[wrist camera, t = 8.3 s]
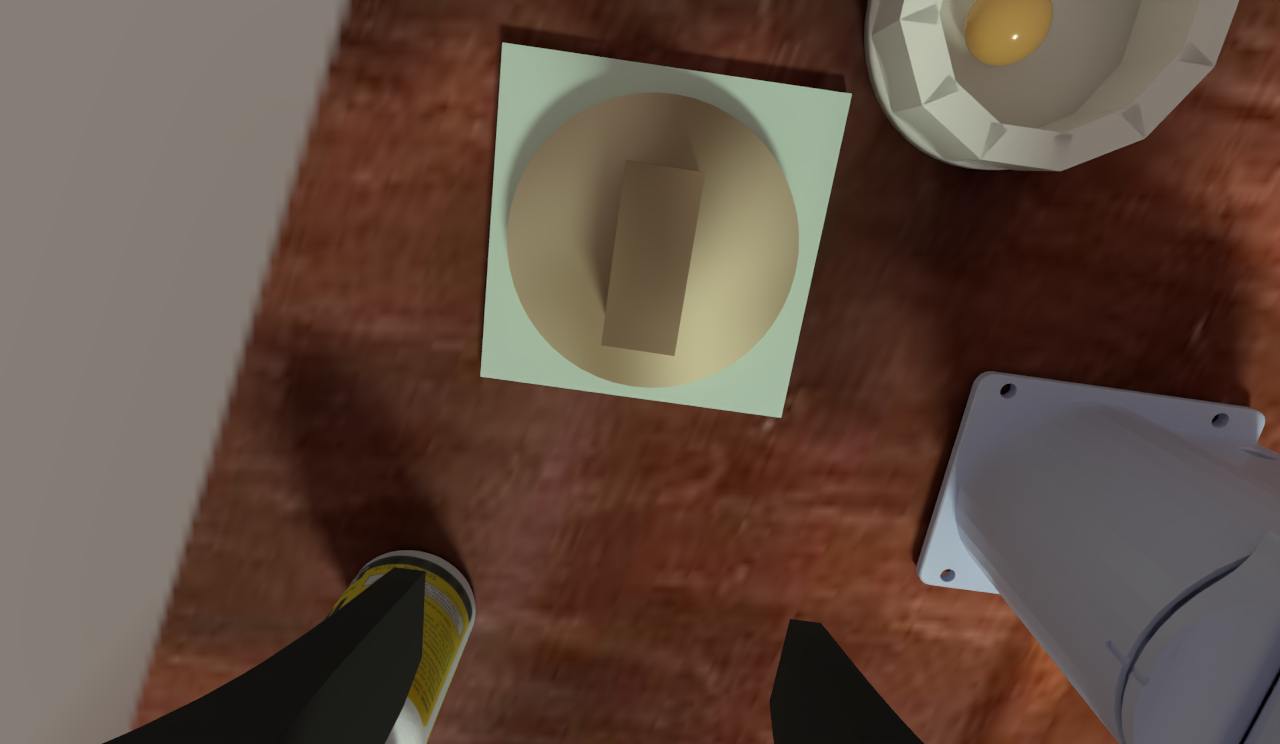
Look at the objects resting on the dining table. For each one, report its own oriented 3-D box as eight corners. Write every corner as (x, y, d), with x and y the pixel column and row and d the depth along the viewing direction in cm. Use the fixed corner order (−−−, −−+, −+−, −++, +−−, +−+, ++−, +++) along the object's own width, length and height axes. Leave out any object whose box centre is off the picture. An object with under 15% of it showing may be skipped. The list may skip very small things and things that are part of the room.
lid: (822, 119, 19) (855, 111, 16) (762, 397, 21) (780, 437, 18) (525, 73, 19) (499, 55, 16) (502, 359, 21) (474, 393, 18)
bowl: (1203, -125, 17) (1310, -182, 14) (1097, 187, 20) (1172, 191, 17) (904, -171, 17) (954, -238, 14) (835, 149, 20) (866, 146, 17)
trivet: (847, 95, 19) (852, 93, 19) (778, 412, 22) (781, 417, 22) (506, 45, 19) (502, 42, 18) (484, 371, 22) (480, 376, 21)
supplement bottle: (358, 534, 24) (208, 720, 16) (485, 558, 24) (400, 754, 16) (350, 640, 26) (209, 859, 17) (470, 661, 26) (385, 888, 18)
